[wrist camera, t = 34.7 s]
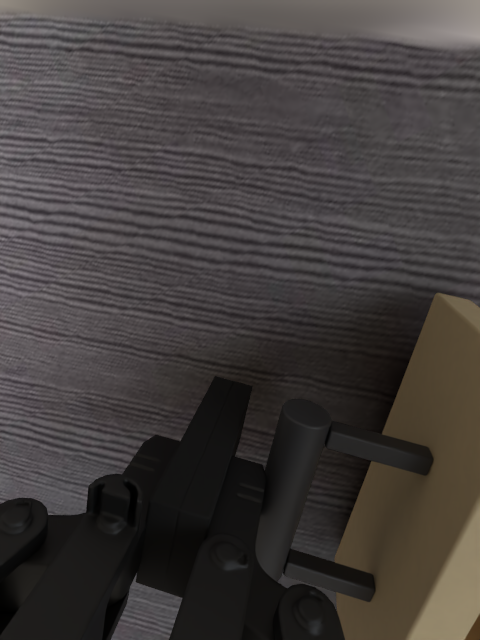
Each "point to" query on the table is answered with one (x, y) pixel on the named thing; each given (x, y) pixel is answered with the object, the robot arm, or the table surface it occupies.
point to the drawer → (395, 495)
